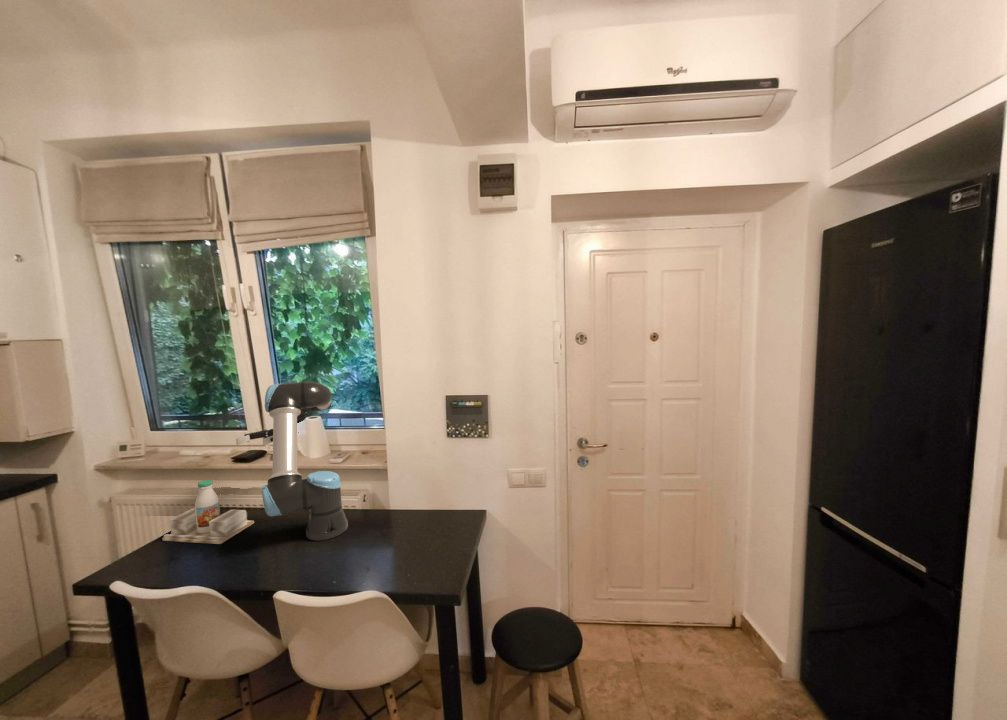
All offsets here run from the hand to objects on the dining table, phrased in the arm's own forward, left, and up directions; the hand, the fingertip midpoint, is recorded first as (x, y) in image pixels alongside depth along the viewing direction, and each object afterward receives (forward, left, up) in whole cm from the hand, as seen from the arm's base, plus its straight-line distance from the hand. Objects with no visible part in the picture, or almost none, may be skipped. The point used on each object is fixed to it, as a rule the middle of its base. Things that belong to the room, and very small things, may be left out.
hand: (250, 441), depth 167 cm
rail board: (+5, +18, -32) cm, 37 cm away
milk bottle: (+5, +18, -31) cm, 36 cm away
